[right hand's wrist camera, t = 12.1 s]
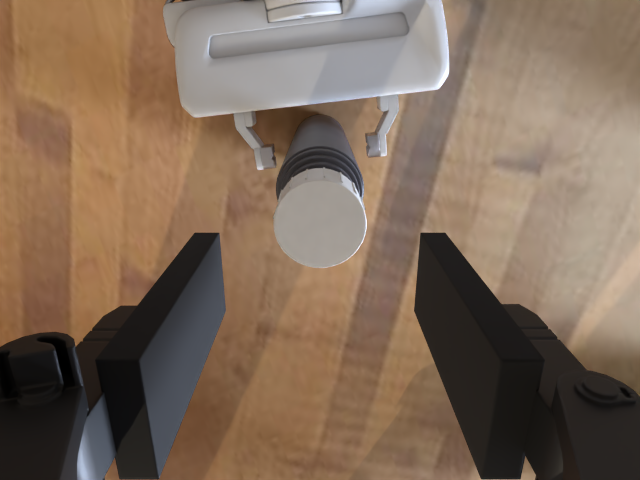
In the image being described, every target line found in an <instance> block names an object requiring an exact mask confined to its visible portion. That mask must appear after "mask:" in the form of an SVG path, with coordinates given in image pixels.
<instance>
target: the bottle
mask: <svg viewBox="0 0 640 480" xmlns="http://www.w3.org/2000/svg"><path fill="white" fill-rule="evenodd" d="M323 167H325V168H326V169H331V170H334V171H337V172H339V173H340V172H341V173H342V174H343V175H344V176H345V177H347V178H348V179H349V180H350V181H351V182H352V183H354V184H355V187H356V189H357V191H358V193H359V196H360V197H361V198H362V200H363V195H364V183H363V178H362V174H361V172H360V170H359V167H358V165H357V162H356V160H355V157H354V155H353V153H352V150H351V148H350V145H349V143H348V140H347V138H346V136H345V133H344V131H343V128H342V127H341V125H340V124H339V123H338V122H337V121H336V120H335V119H333V118H332V117H329V116H326V115H314V116H311V117H308V118H307V119H305V120H304V121H303V122H302V123H301V124H300V125H299V127H298V129H297V131H296V133H295V135H294V138H293V140H292V143H291V145H290V148H289V150H288V152H287V155H286V157H285V160H284V162H283V165H282V167H281V169H280V172H279V175H278V178H277V183H276V195H277V200H278V199H279V196H280V193H281V190H283V189H284V187H285V186H286V185H287V183H288V182H289V181H290V180H291V178H292V177H295V176H296V175H298V174H299V173H301V172H303V171H306V169H308V170H309V169H314V168H323Z"/></svg>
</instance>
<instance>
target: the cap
mask: <svg viewBox="0 0 640 480" xmlns="http://www.w3.org/2000/svg"><path fill="white" fill-rule="evenodd" d="M364 210H365V207H364V204H363V201H362V198H361V197H360V196H359V193H358V191H357V189H356V187H355V184H354V183H352V182H351V181H350V180H349V179H348V178H347V177H345V176H344V175H343V174H342V173H341V172H340V173H339V172H337V171H334V170H331V169H326V168H325V167H323V168H314V169H309V170H308V169H306V171H303V172H301V173H299V174H298V175H296V176H295V177H292V178H291V180H290V181H289V182H288V183H287V185H286V186H285V187H284V189H283V190H281V193H280V196H279V199H278V205H277V207H276V210H275V213H274V217H273V219H274V232H275V236H276V239H277V241H278V243H279V245H280V247H281V248H282V250H283V251H284V252H285V253H286V254H287V255H288V256H289V257H290V258H291V259H293V260H294V261H296V262H298V263H300V264H302V265H305V266H309V267H314V268H326V267H331V266H335V265H338V264H340V263H342V262H344V261H346V260H347V259H349V258H350V257H351V256H352V255H353V254H354V253H355V252H356V251H357V250H358V248H359V247H360V245H361V244H362V241H363V239H364V236H365V233H366V226H367V225H366V215H365V212H364Z"/></svg>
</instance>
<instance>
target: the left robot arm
mask: <svg viewBox="0 0 640 480" xmlns="http://www.w3.org/2000/svg"><path fill="white" fill-rule="evenodd" d="M173 1H174V0H166V2H165V5H164V8H163V18H164V22H165V27H166V32H167V36H168V39H169V41H170V43H171V45H172V46H173V47H174V48H175V64H176V75H177V84H178V91H179V97H180V102H181V105H182V107H183V108H184V109H185V110H186V111H187V112H188V113H189V114H190V115H191V116H193V117H195V118H197V117H206V116H215V115H223V114H232V113H233V115H234V121H235V126H236V129H237V131H238V132H239V133H240V134H241V136H242V137H243V138H244V139H245V141H246V142H247V143H248V144H249V146H250V147H251V148H252V149H254V154H255V161H256V167H257V170H263V169H270V168H276V165H277V163H276V157H275V156H274V153H275V148H274V144H265V145H264V143H263V142H262V141H261V139H260V138H259V137H258V135H257V134H256V132H255V131H254V130H253V128H252V127H251V126H253V125H254V124H256V122H257V121H256V114H255V111H258V110H266V109H275V108H283V107H292V106H301V105H309V104H318V103H327V102H335V101H344V100H352V99H361V98H370V97H377V107H378V109H379V110H381V111H382V112H383V111H384V112H383V115H382V117H381V119H380V121H379V123H378V126H377V128H376V130H375V132H372V133H365V139H366V143H367V146H366V151H367V156H368V158H369V157H380V156H386V154H387V149H386V134H387V133H388V131H389V129H390V127H391V125H392V123H393V121H394V119H395V117H396V115H397V113H398V111H399V105H398V94H404V93H413V92H421V91H430V90H437V89H439V88H440V87H441V86H442V84H443V83H444V81H445V80H446V78H447V77H448V74H449V51H448V39H447V30H446V22H445V16H444V10H443V5H442V2H441V0H243V1H242V0H181V1H183V2H175V3H173Z"/></svg>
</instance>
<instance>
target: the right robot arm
mask: <svg viewBox="0 0 640 480" xmlns="http://www.w3.org/2000/svg"><path fill="white" fill-rule="evenodd" d="M225 311H226V308H225V295H224V283H223V271H222V259H221V247H220V235H219V233H194V235H193V236H192V237H191V238H190V240H189V241H188V242H187V243H186V245H185V246H184V247H183V249H182V250H181V251H180V252H179V254H178V255H177V256H176V257H175V259H174V260H173V261H172V263H171V264H170V265H169V266H168V268H167V269H166V270H165V271H164V273H163V274H162V275H161V277H160V278H159V279H158V280H157V282H156V283H155V284H154V285H153V287H152V288H151V289H150V291H149V292H148V293H147V294H146V296H145V297H144V298H143V299H142V301H141V302H140V303H139V305H138V306H120V307H118V308H116V309H115V310H113V311H111V312H110V313H108V314H106V315H105V316H103V317H102V318H101V320H100V321H99V322H98V323H97V324H96V325H95V326H94V327H93V328H92V331H90V332H89V333H88V334H87V335H86V336H85V337H84V339H83V342H80V343H79V344H78V345H77V346H76V347H75V342H74V339H73V338H72V337H70V336H69V335H68V334H64V333H58V332H47V333H38V334H33V335H29V336H25V337H21V338H19V339H16V340H14V341H11V342H9V343H6V344H5V345H3V346H1V347H0V480H105V478H104V477H105V475H106V473H107V471H108V469H109V467H110V465H111V463H112V462H113V460H114V458H115V459H116V464H117V469H118V474H119V479H159V478H160V475H161V473H162V470H163V467H164V465H165V462H166V460H167V457H168V455H169V452H170V450H171V447H172V445H173V442H174V440H175V437H176V435H177V432H178V430H179V427H180V425H181V422H182V420H183V417H184V415H185V412H186V410H187V407H188V405H189V402H190V400H191V397H192V394H193V392H194V389H195V387H196V384H197V382H198V379H199V377H200V374H201V372H202V369H203V367H204V364H205V362H206V359H207V357H208V354H209V352H210V349H211V347H212V344H213V342H214V339H215V337H216V334H217V332H218V329H219V327H220V324H221V321H222V319H223V316H224V314H225ZM414 311H415V314H416V316H417V319H418V321H419V324H420V327H421V329H422V332H423V334H424V337H425V339H426V342H427V344H428V347H429V349H430V352H431V354H432V357H433V359H434V362H435V364H436V367H437V369H438V372H439V374H440V377H441V379H442V382H443V384H444V387H445V389H446V392H447V394H448V397H449V400H450V402H451V405H452V407H453V410H454V412H455V415H456V417H457V420H458V422H459V425H460V427H461V430H462V432H463V435H464V437H465V440H466V442H467V445H468V447H469V450H470V452H471V455H472V457H473V460H474V462H475V465H476V467H477V470H478V473H479V475H480V478H481V479H521V474H522V469H523V464H524V459H525V456H526V457H527V459H528V461H529V463H530V465H531V467H532V469H533V470H534V472H535V474H536V478H535V480H640V397H639V396H638V394H637V393H636V392H635V391H634V390H632V389H631V388H630V387H628V386H627V385H625V384H624V383H623V382H621V381H618V380H616V379H614V378H612V377H610V376H607V375H604V374H601V373H597V372H593V371H587V370H586V369H585V368H584V367H583V365H582V364H581V363H580V362H579V361H578V360H577V359H576V358H575V357H574V355H573V354H572V353H571V352H570V351H569V350H568V349H567V348H566V347H565V345H564V344H563V343H562V342H561V341H560V340H557V337H556V335H555V334H554V333H553V332H552V331H551V330H550V329H548V327H547V325H546V324H545V323H544V322H543V321H542V320H541V319H540V318H539V317H538V315H536V314H535V313H533V312H531V311H530V310H528V309H526V308H525V307H523V306H521V305H520V304H501V303H500V302H499V301H498V299H497V298H496V297H495V296H494V294H493V293H492V292H491V291H490V289H489V288H488V287H487V285H486V284H485V283H484V282H483V280H482V279H481V278H480V277H479V275H478V274H477V273H476V271H475V270H474V269H473V268H472V266H471V265H470V264H469V263H468V261H467V260H466V259H465V257H464V256H463V255H462V254H461V252H460V251H459V250H458V249H457V247H456V246H455V245H454V243H453V242H452V241H451V240H450V238H449V237H448V236H447V235H446V233H421V235H420V247H419V259H418V271H417V283H416V295H415V308H414Z"/></svg>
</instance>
